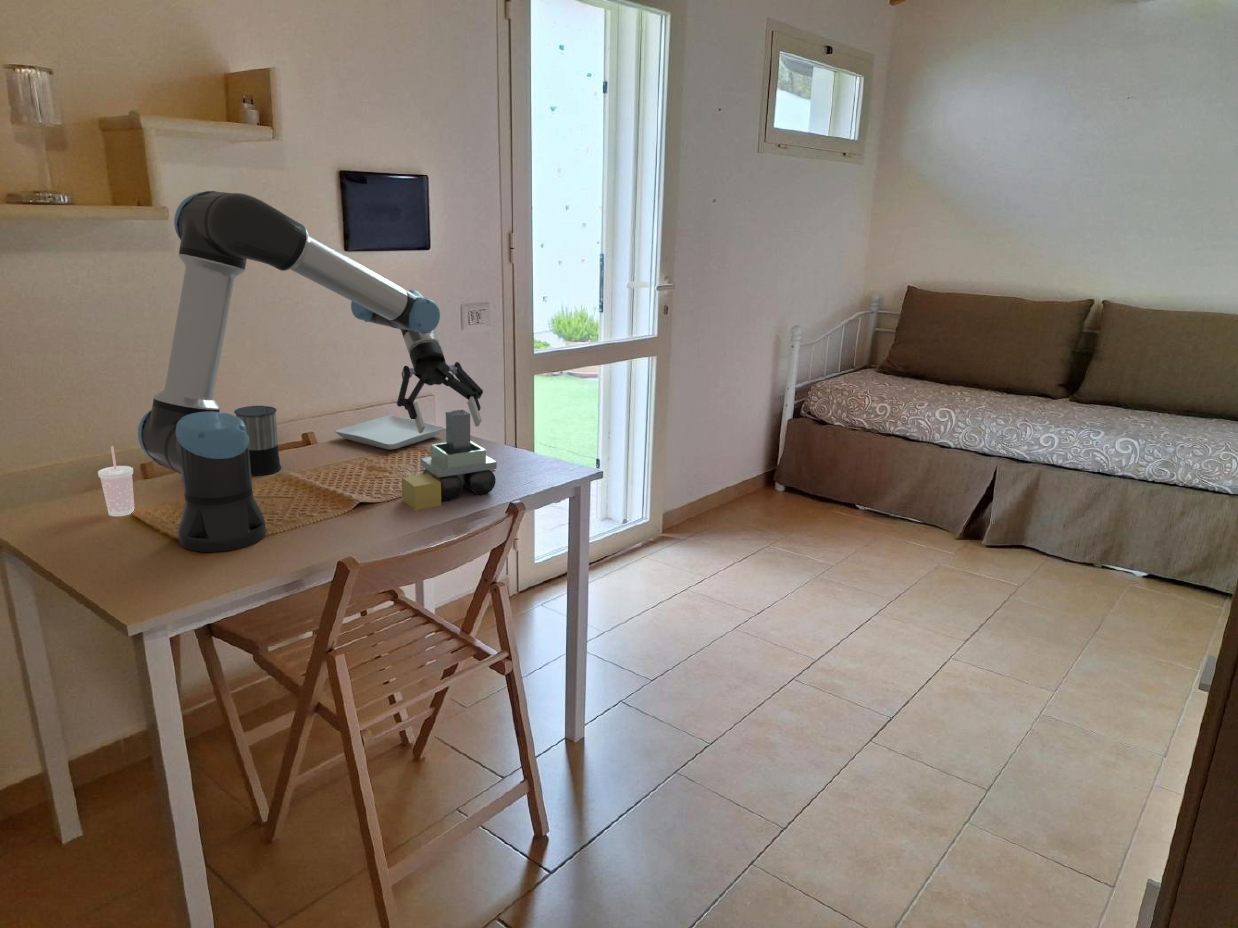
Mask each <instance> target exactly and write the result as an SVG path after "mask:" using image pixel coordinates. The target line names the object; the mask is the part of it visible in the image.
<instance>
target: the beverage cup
mask: <svg viewBox="0 0 1238 928" xmlns="http://www.w3.org/2000/svg"><path fill="white" fill-rule="evenodd" d="M110 451H111V457H112V458H111V459H112V464H113V465H112V466H110V467H109V466H108V467H104V468H102V469H100V470H98V471H97V475H98V478H100V482H101V487H102V490H103V495H104V500H105V503H106V509H107V512H108V515H109V516H111V517H124V516H129V515H132V514H133V513H134V512H135V511H134V509H135V500H134V495H135V494H134V482H133V474H134V468H133V466H132V467H131V466H129V465H117V462H116V455H115V448H114V445H111V446H110ZM133 511H134V512H133ZM132 512H133V513H132ZM131 513H132V514H131Z"/></svg>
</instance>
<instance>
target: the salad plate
mask: <svg viewBox="0 0 1238 928" xmlns="http://www.w3.org/2000/svg"><path fill="white" fill-rule="evenodd" d="M424 425H425V428H424V430H423V433H419V432H418V429H417V426H416V423H415V419H411V418H406V417H401V416H397V415H393V414H389V415H386V416H382V417H379V418H375V419H370V420H368V421H364V422H360V423H356V424H353V425H350V426H345V427H342V428H339V429H336V430H335V433H336V434H337V435H338V436H340V437H341V438H343V439H345V440H349V441H353V442H356V443H360V444H363V445H368V446H370V447H371V446H372V447H375V448H380V449H384V450H396V449H400V448H403V447H407V446H411V445H414V444H416V443H417V444H418V443H420V442H423V441H426V440H428V439H431V438H434V437H436V436H438V435H440V434H441V433H442V432H443V431H444V430H445V427H443V426H439V425H435V424H432V423H427V422H424Z"/></svg>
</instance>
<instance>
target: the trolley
mask: <svg viewBox="0 0 1238 928" xmlns="http://www.w3.org/2000/svg"><path fill="white" fill-rule="evenodd" d="M470 446H471V451H469V452H462V453H454V454H448V453H447V449H446V442H440V443H431V444H430V456H427V457H420V466H421V467H423V468H424V470H423V471H422V474H426V473H428V474H430V475H431V476H432V477H434V478H435V479H437V480H438V481H440V482H441V500H444V501H445V502H446V501H447V502H448V501H449V502H451V501H454V500H456V499H457V498H459V496H460V495H461V494H462V492H463V491H464V490H463V488H464V487H466V488H467V489H469V490H471V492H473V493H475V494H476V495H479V496H484V495H488V494H490V492H491V491H493V490H494V488H495V486H496V482H497V481H496V476H495V475H496V474H494V473H493V472H492V470H496V469H498V468H497V464H498V463H497V461H496V460H494V459H493V458H492V457H489V456H487V450H486V449H485V448H484V447H482V446H480V445H478V444H477V443H475V442H474V441H472V440H470Z"/></svg>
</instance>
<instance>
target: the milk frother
mask: <svg viewBox="0 0 1238 928" xmlns="http://www.w3.org/2000/svg"><path fill="white" fill-rule="evenodd" d="M277 411H278V409H277V408H276V407H274V406H268V405H248V406H242V407H239V408H236V409H235V410H234V411H233V413H234V414H235V416H236V417H238V418H240V419H241V420H242V421H243V422H244V424H245V426H246V431H247V435H248V438H249V457H250V468H251V476H266V475H270V474H271V475H272V474H275V473H277V472H279V471H280V470H281V469H282V465H281V463H280V461H281V460H280V455H279V454H280V452H279V443H278V442H279V441H278V440H279V439H278V428H277V427H278V425H277V414H276V412H277Z"/></svg>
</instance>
